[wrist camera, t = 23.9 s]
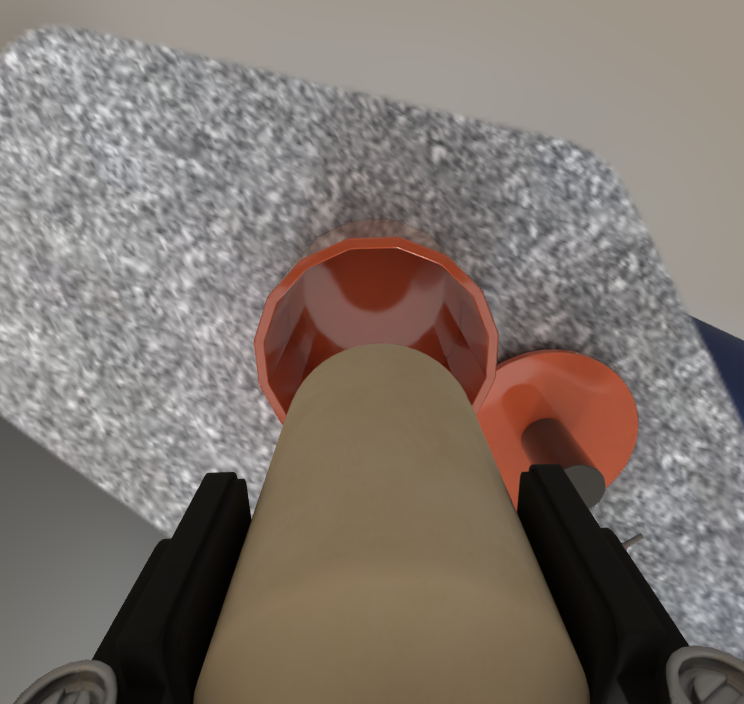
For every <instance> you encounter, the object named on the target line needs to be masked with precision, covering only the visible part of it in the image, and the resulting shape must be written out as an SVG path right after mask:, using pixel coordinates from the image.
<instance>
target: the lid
mask: <svg viewBox="0 0 744 704" xmlns="http://www.w3.org/2000/svg"><path fill="white" fill-rule="evenodd" d="M476 417H477V419H478V422H479V424H480V426H481V429H482V431H483V433H484V436H485V438H486V441H487V443H488V445H489V448H490V450H491V452H492V455H493V457H494V459H495V462H496V464H497V467H498V469H499V471H500V474H501V476H502V478H503V481H504V483H505V486H506V488H507V490H508V493H509V495H510V497H511V500H512V502H513V504H514V507H515V509H516V512H517V504H518V493H519V482H520V475H521V472H528V471H529V467H530V465H532V464H560V465H561V467H562V468H563V470H564V471H565V473H566V474H567V476H568V477H569V479H570V481H571V482H572V484H573V485H574V487H575V488H576V490H577V492H578V493H579V495H580V496H581V498H582V500H583V501H584V503H585V504H586V506H587V507H588V509H590V508H592V507H593V506H595V505H596V504H597V503H598V502H599V501H600V500H601V498H602V497H603V495H604V492H605V488H606V487H608V486H609V485H610V484H611V483H612V482H613V481H614V480H615V479H616V478H617V477H618V475H619V474H620V473H621V471H622V470H623V469H624V467H625V466H626V464H627V462H628V460H629V459H630V457H631V454H632V452H633V449H634V447H635V443H636V439H637V434H638V413H637V408H636V404H635V401H634V398H633V396H632V393H631V392H630V390H629V388H628V387H627V385H626V384H625V382H624V381H623V380H622V379H621V378H620V376H619V375H617V374H616V373H615V372H614V371H613V370H612V369H611V368H609V367H608V366H607V365H605V364H604V363H602V362H601V361H599V360H597V359H595V358H593V357H591V356H589V355H586V354H582V353H579V352H576V351H569V350H561V349H547V350H537V351H532V352H528V353H524V354H521V355H518V356H515V357H512V358H510V359H508V360H506V361H504V362H502V363H500V364H498V365H497V368H496V378H495V381H494V383H493V385H492V387H491V389H490V391H489V393H488V395H487V397H486V399H485V401H484V403H483V405H482V406H481V408H480V410H479V412H478V414H477V416H476Z"/></svg>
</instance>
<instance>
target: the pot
mask: <svg viewBox="0 0 744 704" xmlns="http://www.w3.org/2000/svg"><path fill="white" fill-rule="evenodd" d="M498 337H499V335H498V331H497V328H496V325H495V323H494V320H493V317H492V315H491V312H490V309H489V307H488V304H487V301H486V299H485V296H484V293H483V291H482V290H481V288H480V287H479V286H478V285H477V284H476V283H475V282H474V280H473V279H472V278H471V277H470V276H469V275H468V274H467V273H466V272H465V270H464V269H463V268H462V267H461V266H460V265H459V264H458V263H457V262H456V260H455V259H454V258H453V257H452V256H451V255H450V254H449V253H448V252H447V251H446V250H445V249H444V248H443V247H442V246H441V245H440V244H439V243H438V242H437V241H436V240H435V239H434V238H433V237H432V236H431V235H429V234H428V233H425V232H422V231H420V230H418V229H416V228H414V227H412V226H409V225H406V224H403V223H400V222H397V221H395V220H381V219H369V220H359V221H351V222H349V223H347V224H344V225H342V226H339V227H336V228H334V229H332V230H331V231H329V232H327V233H325V234H323V235H321V236H319V237H317V238H316V239H315V240H314V241H313V242H312V243H311V244H310V246H309V247H308V248H307V249H306V250H305V251H304V252H303V253H302V255H301V256H300V257H299V258H298V259H297V260H296V261H295V262H294V264H293V265H292V266H291V267H290V268H289V270H288V271H287V272H286V274H285V275H284V276H283V277H282V279H281V280H280V281H279V282H278V284H277V285H276V286H275V288H274V289H273V290H272V291H271V293H270V294H269V295H268V297H267V300H266V303H265V306H264V310H263V313H262V316H261V319H260V322H259V325H258V329H257V332H256V335H255V338H254V347H255V356H256V364H257V373H258V381H259V385H260V388H261V389H262V391H263V393H264V395H265V396H266V398H267V400H268V401H269V403H270V405H271V407H272V408H273V410H274V412H275V414H276V415H277V417H278V419H279V420H280V422H281V423H282V424H283V425H284V422H285V419H286V416H287V413H288V410H289V408H290V405H291V402H292V400H293V398H294V396H295V394H296V392H297V390H298V389H299V387H300V386H301V384H302V383H303V381H304V380H305V379H306V378H307V377H308V376H309V374H310V373H311V372H312V371H313V370H314V369H315V368H316V367H318V366H319V365H320V364H321V363H322V362H324V361H325V360H327V359H328V358H330V357H332V356H333V355H335V354H338V353H340V352H342V351H344V350H347V349H350V348H353V347H356V346H362V345H367V344H395V345H400V346H405V347H408V348H411V349H415V350H418V351H420V352H422V353H424V354H426V355H428V356H430V357H431V358H433V359H434V360H436V361H438V362H439V363H440V364H441V365H442V366H444V367H445V368H446V369H447V370H448V371H449V372H450V373H451V374H452V375H453V376H454V377H455V379H456V380H457V381H458V382H459V384H460V385H461V387H462V388H463V390H464V391H465V393H466V395H467V397H468V400H469V402H470V404H471V406H472V408H473V410H474V412H475V415H476V416H477V414H478V412H479V410H480V408H481V406H482V405H483V403H484V401H485V399H486V397H487V395H488V393H489V391H490V389H491V387H492V385H493V383H494V381H495V378H496V368H497V352H498Z"/></svg>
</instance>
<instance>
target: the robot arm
mask: <svg viewBox="0 0 744 704" xmlns="http://www.w3.org/2000/svg"><path fill="white" fill-rule="evenodd" d="M517 514H518V516H519V519H520V521H521V523H522V526H523V528H524V530H525V533H526V535H527V538H528V540H529V542H530V545H531V547H532V549H533V552H534V554H535V556H536V559H537V561H538V564H539V566H540V568H541V571H542V573H543V575H544V578H545V580H546V582H547V585H548V587H549V590H550V592H551V594H552V597H553V599H554V601H555V604H556V606H557V608H558V611H559V613H560V616H561V618H562V620H563V623H564V625H565V627H566V630H567V632H568V635H569V637H570V639H571V642H572V644H573V646H574V649H575V651H576V654H577V656H578V658H579V661H580V663H581V666H582V668H583V670H584V673H585V676H586V680H587V684H588V688H589V692H590V704H744V661H742V660H740V659H738V658H736V657H734V656H733V655H731V654H729V653H726V652H723V651H720V650H717V649H714V648H711V647H703V646H689V645H688V643H687V642H686V640H685V639H684V637H683V636H682V634H681V633H680V631H679V630H678V628H677V627H676V625H675V624H674V622H673V621H672V619H671V618H670V616H669V614H668V613H667V611H666V610H665V608H664V607H663V605H662V604H661V602H660V601H659V599H658V598H657V596H656V595H655V593H654V592H653V590H652V589H651V587H650V586H649V584H648V583H647V581H646V580H645V578H644V577H643V575H642V574H641V572H640V571H639V569H638V568H637V566H636V565H635V563H634V562H633V560H632V559H631V557H630V556H629V554H628V553H627V551H626V550H625V548H624V547H623V545H622V544H621V542H620V541H619V539H618V537H617V536H616V535H615V534H614V532H613V531H612V530H610V529H608V528H600V526H599V525H598V523H597V522H596V520H595V519H594V517H593V515H592V514H591V512H590V511H589V509H588V507H587V506H586V504H585V503H584V501H583V500H582V498H581V496H580V495H579V493H578V492H577V490H576V488H575V487H574V485H573V484H572V482H571V481H570V479H569V477H568V476H567V474H566V473H565V471H564V470H563V468H562V467H561V465H560V464H532V465H530V467H529V471H528V472H521V475H520V482H519V493H518V504H517ZM250 523H251V514H250V506H249V499H248V492H247V485H246V481H245V479H238V478H237V475H236V473H235V472H218V473H207V474H206V475H205V477H204V478H203V480H202V482H201V484H200V486H199V488H198V490H197V492H196V493H195V495H194V497H193V499H192V501H191V503H190V505H189V507H188V508H187V510H186V512H185V514H184V516H183V518H182V520H181V522H180V523H179V525H178V527H177V529H176V531H175V533H174V535H173V537H172V538H171V539H163V540H161V541H160V542H159V543H158V544H157V546H156V547H155V549H154V550H153V552H152V554H151V556H150V557H149V559H148V561H147V563H146V564H145V566H144V568H143V570H142V572H141V573H140V575H139V577H138V579H137V581H136V582H135V584H134V586H133V588H132V589H131V591H130V593H129V595H128V596H127V598H126V600H125V602H124V604H123V605H122V607H121V609H120V611H119V612H118V614H117V616H116V618H115V619H114V621H113V623H112V625H111V627H110V629H109V630H108V632H107V634H106V636H105V637H104V639H103V641H102V643H101V645H100V646H99V648H98V650H97V651H96V653H95V655H94V657H93V659H92V660H81V661H76V662H70V663H68V664H65V665H63V666H61V667H58V668H56V669H54V670H52V671H50V672H49V673H47V674H45V675H44V676H42V677H41V678H39V679H37V680H36V681H35V682H34V683H33V684H31V686H29V687H28V688H27V689H26V690H25V691H24V692H22V693H21V694H20V696H19V697H18V698H17V700H16V701H15V702H14V703H13V704H193V700H194V692H195V688H196V685H197V682H198V679H199V676H200V673H201V669H202V666H203V663H204V660H205V657H206V654H207V651H208V648H209V645H210V642H211V639H212V636H213V633H214V630H215V627H216V624H217V621H218V618H219V615H220V612H221V609H222V606H223V603H224V600H225V597H226V594H227V591H228V588H229V585H230V583H231V580H232V577H233V574H234V571H235V568H236V565H237V562H238V559H239V556H240V553H241V550H242V547H243V544H244V541H245V538H246V535H247V532H248V529H249V526H250Z"/></svg>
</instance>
